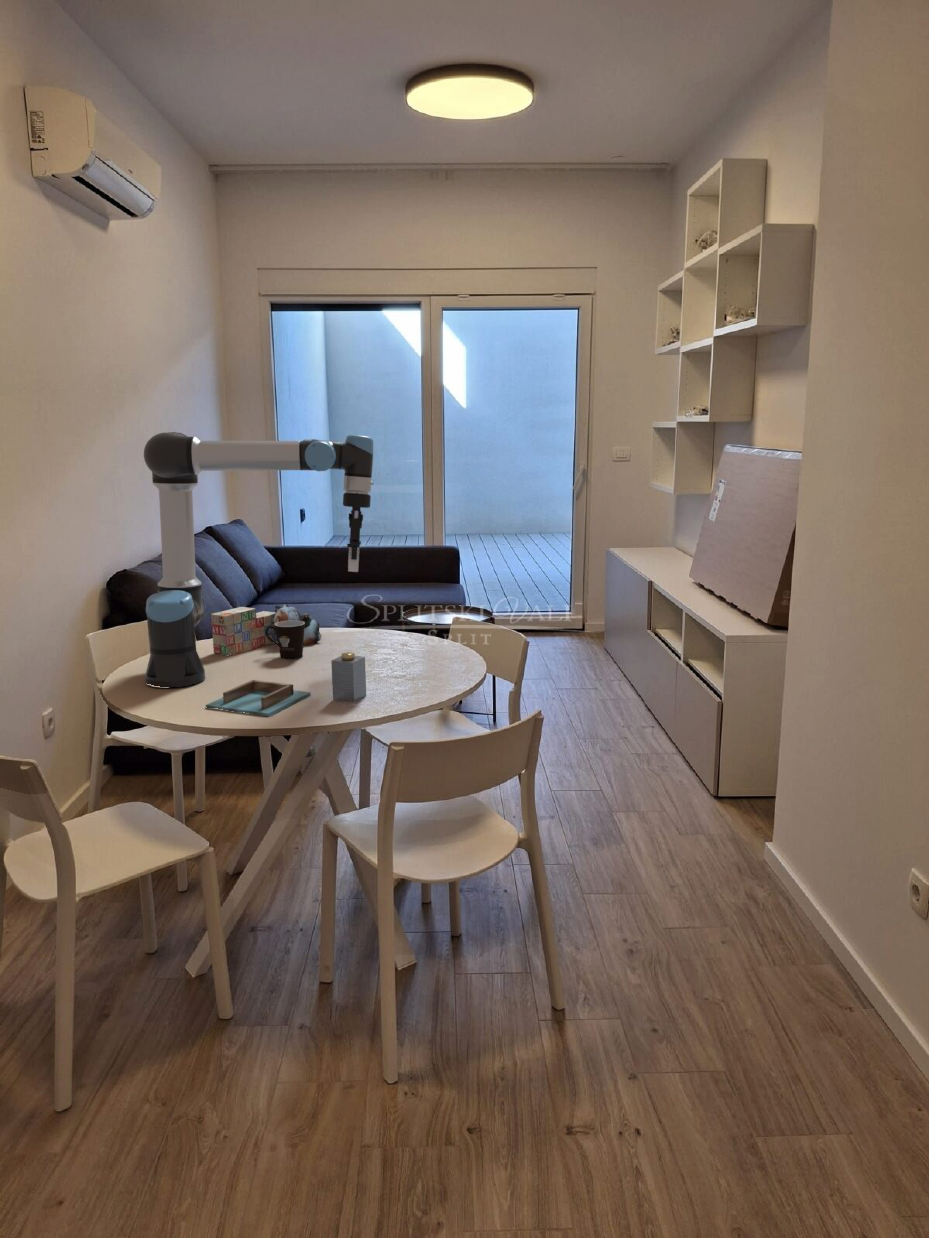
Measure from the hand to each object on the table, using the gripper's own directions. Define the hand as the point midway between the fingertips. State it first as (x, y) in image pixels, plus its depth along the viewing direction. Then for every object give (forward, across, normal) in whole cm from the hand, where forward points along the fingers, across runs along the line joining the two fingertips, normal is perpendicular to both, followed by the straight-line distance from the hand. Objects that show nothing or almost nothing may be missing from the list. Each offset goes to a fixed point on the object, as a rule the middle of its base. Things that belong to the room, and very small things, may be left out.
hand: (352, 569), depth 244 cm
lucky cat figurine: (+27, +30, +15) cm, 43 cm away
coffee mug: (+28, +13, +17) cm, 35 cm away
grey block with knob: (+29, -31, -1) cm, 43 cm away
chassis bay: (+31, -31, +21) cm, 49 cm away
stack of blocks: (+28, +25, +30) cm, 49 cm away
